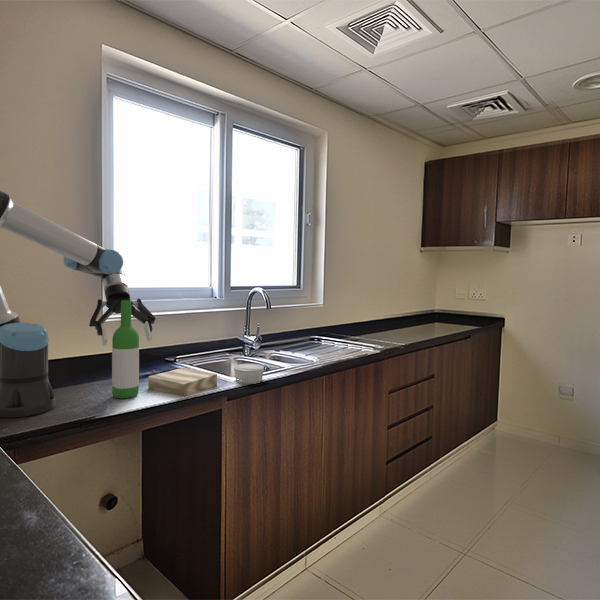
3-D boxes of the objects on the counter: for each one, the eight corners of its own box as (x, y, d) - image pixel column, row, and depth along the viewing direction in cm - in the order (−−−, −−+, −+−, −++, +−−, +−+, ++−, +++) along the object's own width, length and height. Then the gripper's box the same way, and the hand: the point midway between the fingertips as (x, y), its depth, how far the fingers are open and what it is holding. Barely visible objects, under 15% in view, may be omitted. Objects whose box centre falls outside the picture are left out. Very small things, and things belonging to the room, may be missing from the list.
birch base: (183, 396, 138) (184, 384, 137) (148, 388, 145) (148, 376, 145) (216, 385, 152) (217, 374, 151) (182, 378, 159) (183, 367, 159)
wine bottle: (130, 390, 142) (131, 299, 140) (143, 395, 137) (144, 301, 135) (107, 395, 136) (107, 300, 133) (120, 401, 131) (120, 302, 129)
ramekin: (237, 386, 152) (237, 371, 152) (230, 378, 163) (230, 364, 162) (267, 383, 157) (268, 369, 156) (259, 376, 167) (259, 362, 167)
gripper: (150, 297, 158) (164, 345, 147) (74, 297, 143) (83, 351, 132) (155, 283, 153) (170, 331, 142) (77, 282, 138) (86, 336, 127)
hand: (128, 341), depth 137 cm, fingers open, 13 cm apart
